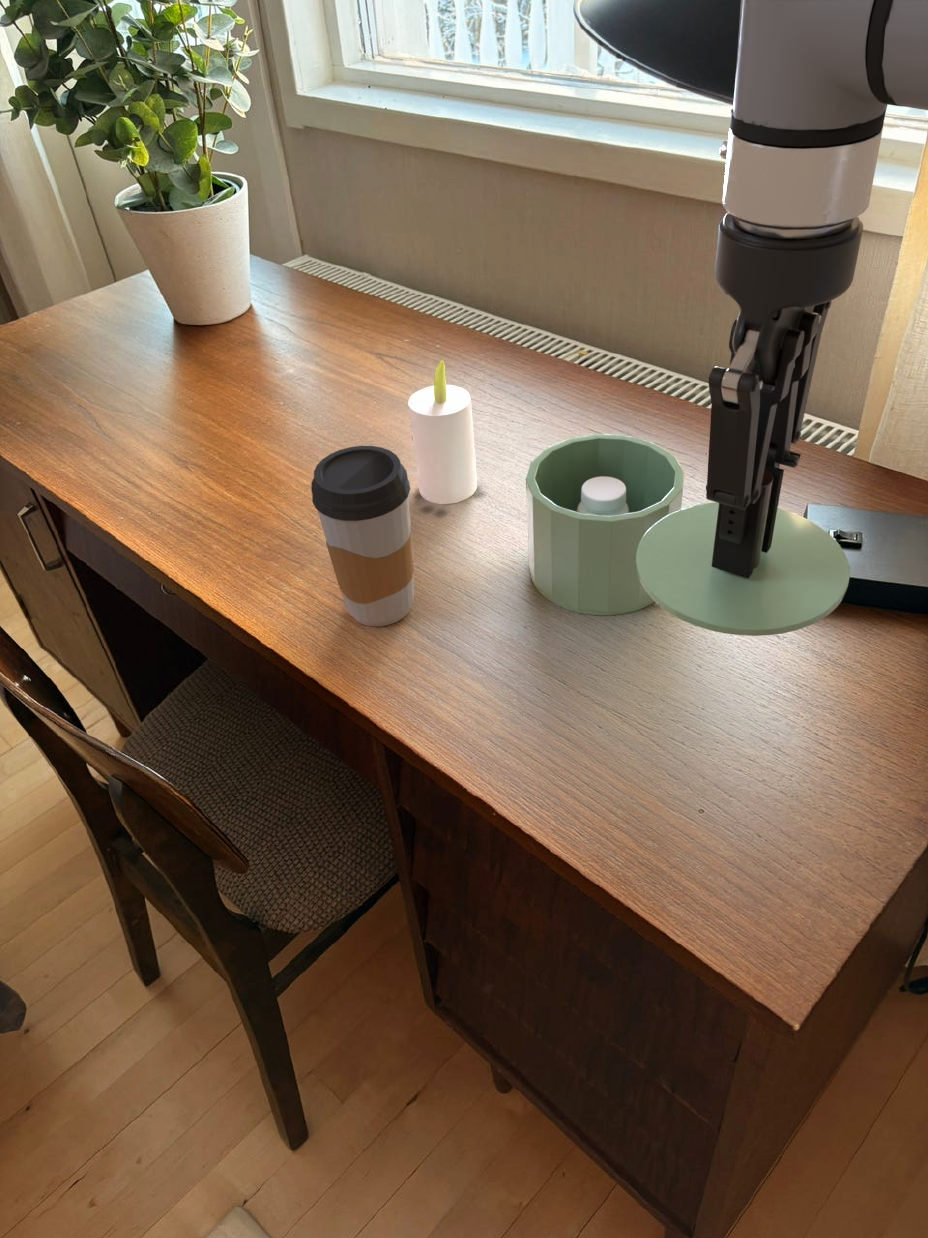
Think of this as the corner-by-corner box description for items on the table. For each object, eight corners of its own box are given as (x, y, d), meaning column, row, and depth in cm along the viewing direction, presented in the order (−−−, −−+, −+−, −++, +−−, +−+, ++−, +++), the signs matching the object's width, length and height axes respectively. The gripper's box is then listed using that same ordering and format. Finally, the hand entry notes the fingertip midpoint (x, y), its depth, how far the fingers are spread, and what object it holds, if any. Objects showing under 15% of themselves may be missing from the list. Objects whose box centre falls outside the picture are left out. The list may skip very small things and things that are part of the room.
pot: (698, 551, 90) (709, 457, 83) (632, 634, 83) (638, 538, 76) (575, 511, 97) (575, 421, 90) (502, 584, 89) (497, 492, 82)
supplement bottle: (611, 584, 87) (614, 509, 81) (566, 568, 89) (566, 494, 84) (635, 556, 90) (639, 482, 84) (591, 541, 92) (593, 468, 86)
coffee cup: (442, 591, 89) (426, 454, 79) (393, 646, 84) (369, 507, 74) (369, 568, 92) (345, 434, 82) (318, 619, 87) (286, 483, 77)
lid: (875, 549, 68) (900, 451, 63) (802, 671, 60) (824, 570, 54) (687, 495, 75) (696, 402, 70) (599, 598, 67) (601, 502, 61)
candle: (435, 465, 105) (421, 339, 95) (487, 478, 102) (478, 349, 92) (406, 495, 101) (389, 367, 91) (459, 509, 98) (447, 378, 88)
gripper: (778, 164, 57) (735, 488, 73) (663, 253, 48) (642, 602, 64) (906, 177, 54) (832, 515, 69) (808, 277, 45) (748, 640, 60)
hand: (741, 556), depth 67 cm, fingers closed on lid, 3 cm apart
